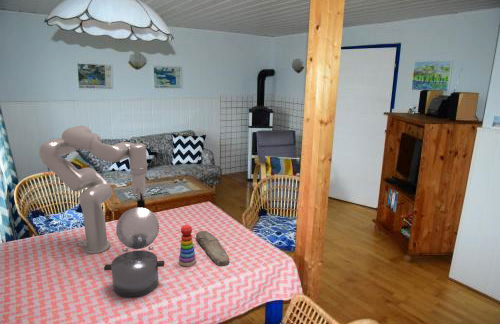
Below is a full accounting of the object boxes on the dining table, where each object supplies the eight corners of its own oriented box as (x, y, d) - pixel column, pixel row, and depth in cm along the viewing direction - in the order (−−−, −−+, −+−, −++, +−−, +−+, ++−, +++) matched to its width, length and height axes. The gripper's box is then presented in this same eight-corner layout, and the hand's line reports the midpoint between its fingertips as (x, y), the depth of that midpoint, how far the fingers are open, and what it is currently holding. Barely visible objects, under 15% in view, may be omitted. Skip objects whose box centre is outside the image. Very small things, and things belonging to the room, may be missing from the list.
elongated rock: (214, 271, 161) (234, 267, 166) (215, 261, 160) (235, 257, 164) (191, 236, 191) (209, 233, 195) (192, 227, 190) (209, 224, 194)
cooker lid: (116, 208, 154) (117, 208, 158) (116, 250, 152) (118, 249, 156) (158, 206, 157) (159, 206, 160) (159, 247, 155) (159, 246, 159)
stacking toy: (199, 262, 165) (198, 226, 161) (185, 269, 160) (183, 231, 155) (189, 256, 171) (188, 220, 166) (175, 262, 165) (174, 225, 161)
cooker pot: (101, 300, 137) (98, 273, 134) (112, 273, 156) (110, 248, 153) (163, 295, 141) (162, 269, 138) (166, 269, 160) (165, 245, 157)
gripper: (132, 166, 168) (135, 202, 173) (127, 175, 154) (130, 214, 158) (148, 166, 169) (151, 201, 174) (145, 175, 155) (147, 213, 160)
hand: (141, 207), depth 166 cm, fingers closed
